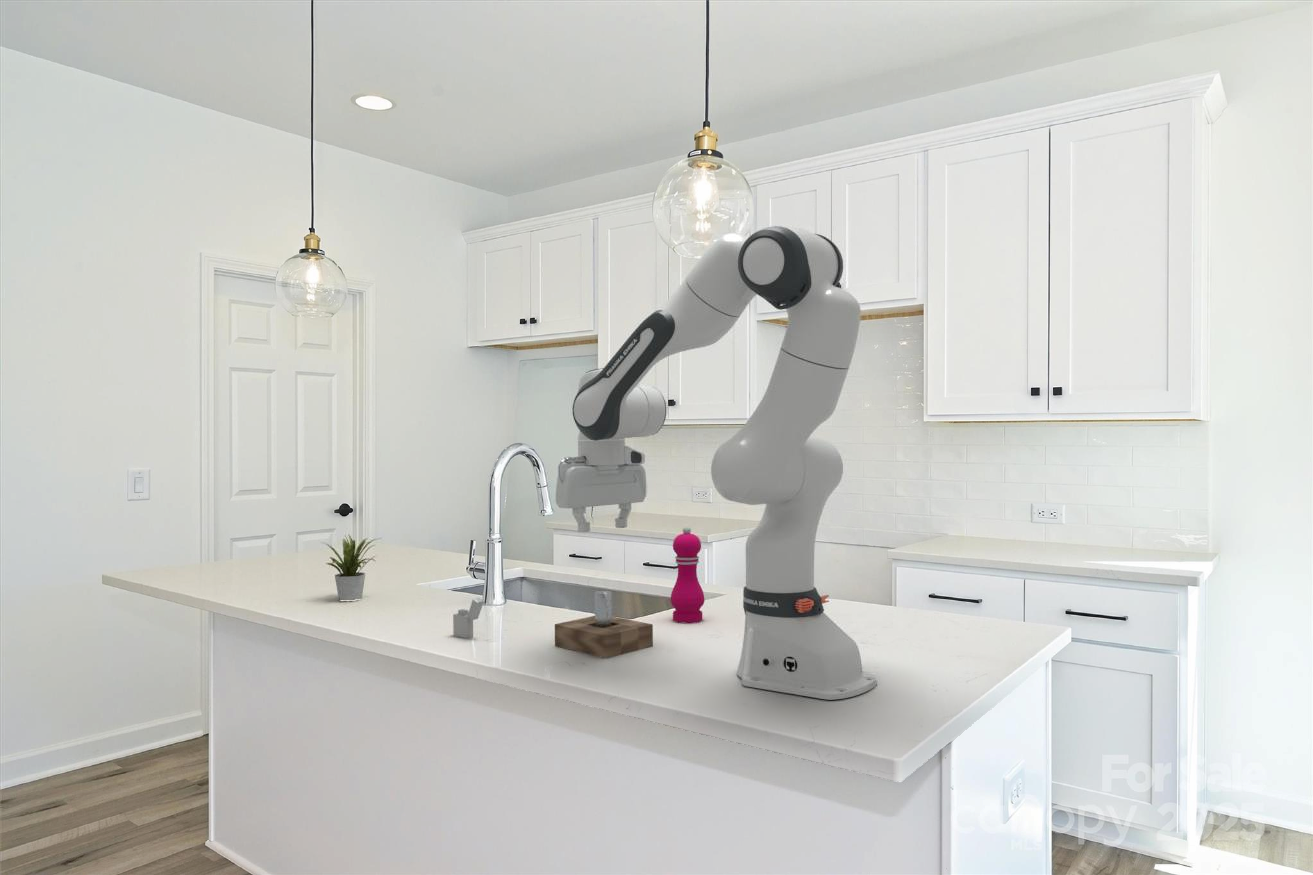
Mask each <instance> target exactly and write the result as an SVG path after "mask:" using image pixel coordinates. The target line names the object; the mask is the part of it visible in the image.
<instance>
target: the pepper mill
mask: <svg viewBox="0 0 1313 875" xmlns="http://www.w3.org/2000/svg"><path fill="white" fill-rule="evenodd" d="M691 532H692V528H691V526H689V525H685V526H683V528H682V533H680V534H678V535H676V537H674V540H673V542H672V549H673V551H674V553H675V554H676V556H675V564H677V577H676V581H675V583H674V586H673V588H672V589H671V590H672V591H671V594H670V604H671V605H672V607H673V608H674V609H675V610H673V612H672V620H673V621H674V620H675V621H677V622H676V623H679V622H685V623H684V624H693V623H692V622H696V623H700V622H702V621H703V611H702V610H700V609H701V608H702V607H703V606H704V604H705V600H706V599H705V595H704V590H703V589H702V586H701V584H700V582H699V579H698V575H697V574H698V573H697V569H698V568H697V566H698V564H699V562H700V560H699V558H700V557H699V556H698V554H699V553H700V552H701V550H702V549H701V548H702V542H701V540H700V538H699V537H698V536H697V535H696V534H694V533H691ZM675 621H674V622H675Z"/></svg>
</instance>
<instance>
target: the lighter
mask: <svg viewBox="0 0 1313 875" xmlns="http://www.w3.org/2000/svg"><path fill="white" fill-rule="evenodd" d="M483 605H484V600H483V599H482V598H481V597H476V598H475V597H474V598H473V599H472V601H471V604H470V607H469V609H464V608H461V609H458V610H457V613H453V615H452V620H453V621H452V622H453V625H452V626H453V630H452V632H453V635H452V636H453V637H456V638H461V639H466V640H467V639H471V638H474V621H475V620H478V619H479V616H480V614H481V611H482V608H483Z"/></svg>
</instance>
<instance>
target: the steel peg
mask: <svg viewBox="0 0 1313 875" xmlns="http://www.w3.org/2000/svg"><path fill="white" fill-rule="evenodd" d="M594 616H595V627H600V628H606V627H610V626H612V616H613V591H610V590H597V591H595V592H594Z"/></svg>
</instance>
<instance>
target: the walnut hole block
mask: <svg viewBox="0 0 1313 875" xmlns="http://www.w3.org/2000/svg"><path fill="white" fill-rule="evenodd" d="M653 625H654V624H653V623H648V622H644V621H643V622H642V621H638V620H633V619H627V618H622V617H618V616H613V615H612V626H610V627H606V628H600V627H595V615H592V616H586V617H584V618H577V619H573V620H569V621H563V622H560V623H554V646H556V647H560V648H564V649H567V650H571V651H575V652H579V653H583V654H586V655H590V656H591V655H592V656H595V657H599V658H603V659H609V658H612V657H616V656H620V655H623V654H627V653H632V652H635V651H639V650H643V649H646V648H651V647H653V646H654V637H653V636H654V630H653V627H654V626H653Z"/></svg>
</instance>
